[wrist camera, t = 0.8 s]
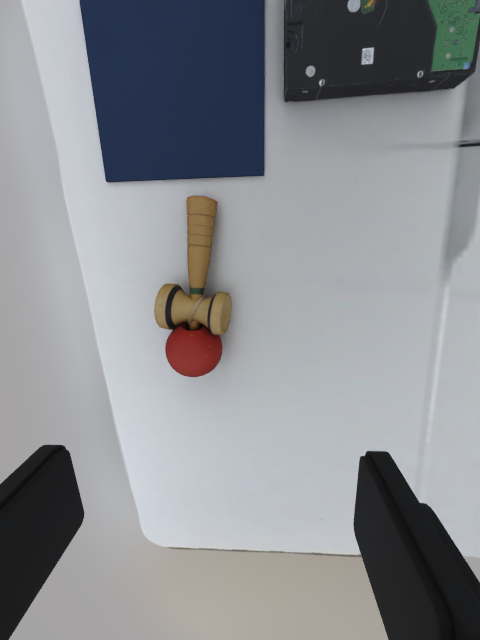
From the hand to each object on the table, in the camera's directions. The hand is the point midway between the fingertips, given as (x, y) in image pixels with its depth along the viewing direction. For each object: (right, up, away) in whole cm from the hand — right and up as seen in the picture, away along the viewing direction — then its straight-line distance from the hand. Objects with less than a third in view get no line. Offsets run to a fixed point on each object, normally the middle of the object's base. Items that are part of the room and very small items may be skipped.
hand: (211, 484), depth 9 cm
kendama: (-3, +9, +22) cm, 24 cm away
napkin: (-5, +29, +16) cm, 34 cm away
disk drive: (+12, +30, +15) cm, 35 cm away
